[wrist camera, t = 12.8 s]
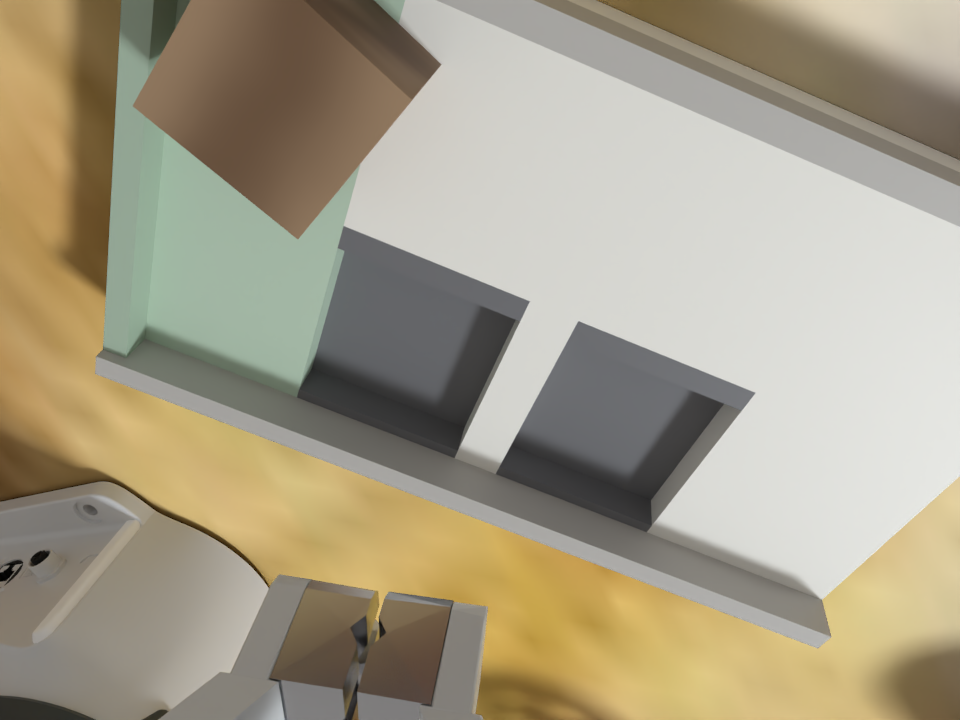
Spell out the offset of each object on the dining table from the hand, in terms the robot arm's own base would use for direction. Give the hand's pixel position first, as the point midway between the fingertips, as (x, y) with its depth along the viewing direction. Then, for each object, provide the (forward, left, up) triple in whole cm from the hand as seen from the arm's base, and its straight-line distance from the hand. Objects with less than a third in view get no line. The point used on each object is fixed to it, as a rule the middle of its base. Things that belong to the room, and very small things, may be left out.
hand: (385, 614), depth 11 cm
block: (-6, +5, -18) cm, 19 cm away
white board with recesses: (+1, -5, -20) cm, 20 cm away
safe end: (-10, +1, -20) cm, 22 cm away
